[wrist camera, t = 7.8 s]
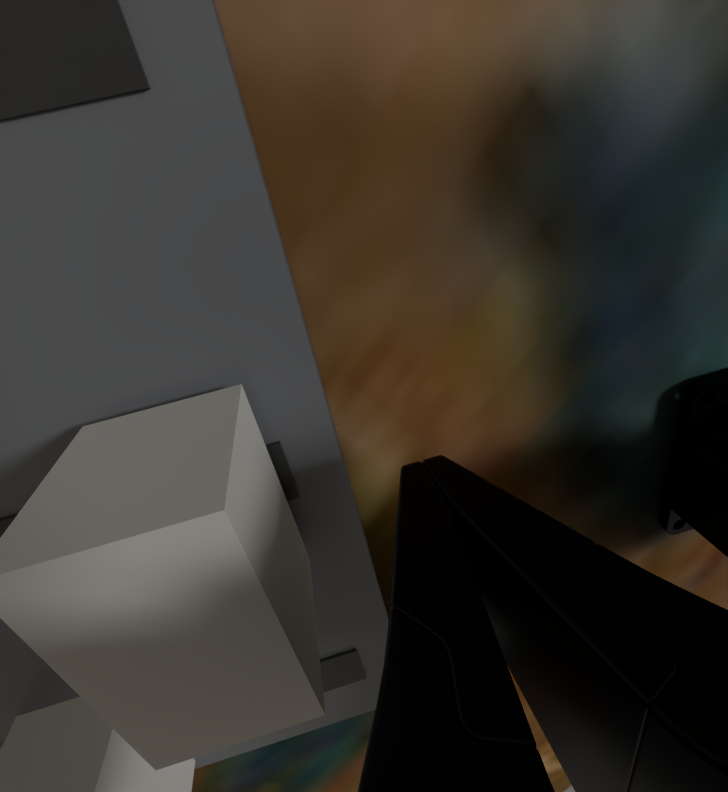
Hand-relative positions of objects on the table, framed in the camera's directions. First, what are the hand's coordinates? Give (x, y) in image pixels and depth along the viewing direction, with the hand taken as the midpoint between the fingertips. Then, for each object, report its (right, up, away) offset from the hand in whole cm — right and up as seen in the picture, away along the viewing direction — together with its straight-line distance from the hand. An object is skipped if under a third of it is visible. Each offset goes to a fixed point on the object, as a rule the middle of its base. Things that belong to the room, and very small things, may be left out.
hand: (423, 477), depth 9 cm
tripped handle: (-4, -1, +1) cm, 5 cm away
